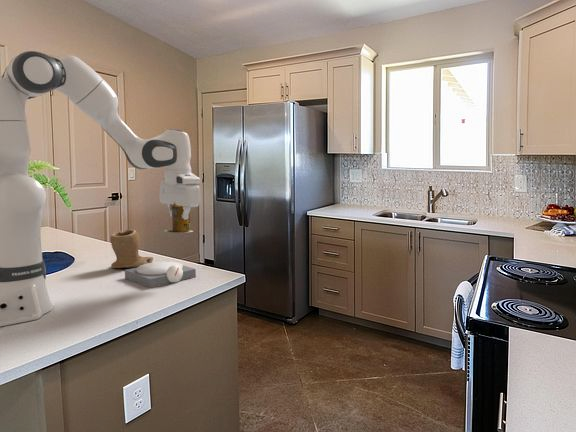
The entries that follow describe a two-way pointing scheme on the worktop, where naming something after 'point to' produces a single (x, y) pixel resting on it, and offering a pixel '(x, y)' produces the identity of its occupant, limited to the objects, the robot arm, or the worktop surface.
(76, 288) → the worktop surface
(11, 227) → the robot arm
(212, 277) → the worktop surface
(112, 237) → the stone cup
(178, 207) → the condiment
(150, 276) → the scale
